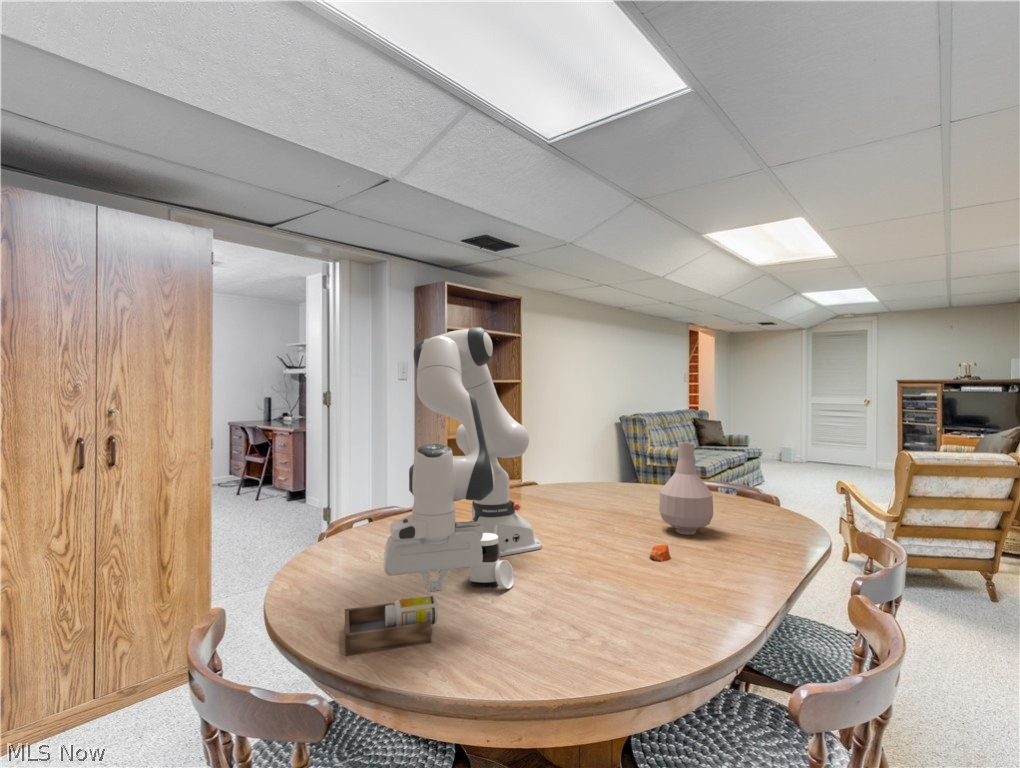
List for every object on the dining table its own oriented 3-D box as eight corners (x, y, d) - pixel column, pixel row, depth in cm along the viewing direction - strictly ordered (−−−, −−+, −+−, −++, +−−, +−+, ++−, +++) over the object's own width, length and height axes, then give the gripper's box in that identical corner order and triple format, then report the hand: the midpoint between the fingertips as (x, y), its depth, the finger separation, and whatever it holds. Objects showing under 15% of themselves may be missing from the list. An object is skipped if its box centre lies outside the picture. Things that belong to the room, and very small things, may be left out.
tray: (422, 616, 113) (421, 599, 113) (431, 642, 102) (431, 623, 102) (344, 627, 108) (344, 609, 108) (345, 656, 97) (345, 635, 97)
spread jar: (471, 574, 138) (471, 530, 138) (514, 575, 137) (514, 531, 137) (466, 593, 126) (466, 545, 126) (513, 593, 125) (513, 545, 125)
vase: (718, 529, 179) (718, 442, 179) (707, 542, 165) (707, 447, 164) (667, 522, 189) (667, 439, 189) (652, 534, 174) (652, 444, 174)
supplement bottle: (432, 598, 112) (384, 604, 109) (436, 592, 108) (386, 598, 104) (435, 626, 109) (385, 633, 106) (439, 621, 105) (387, 628, 101)
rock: (632, 562, 149) (632, 547, 149) (644, 550, 159) (644, 536, 159) (675, 570, 143) (675, 554, 143) (684, 556, 153) (684, 542, 153)
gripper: (478, 516, 114) (478, 579, 114) (382, 524, 108) (382, 591, 108) (486, 523, 108) (486, 590, 108) (385, 532, 102) (385, 603, 102)
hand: (434, 590), depth 108 cm, fingers closed
